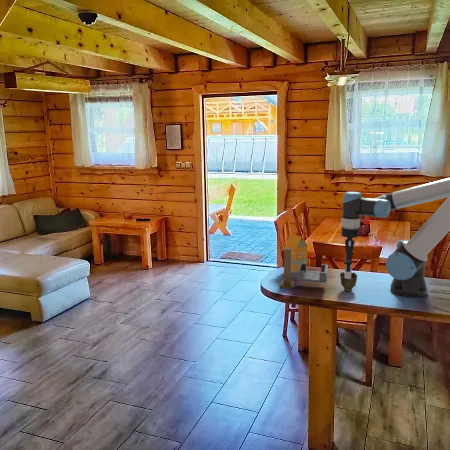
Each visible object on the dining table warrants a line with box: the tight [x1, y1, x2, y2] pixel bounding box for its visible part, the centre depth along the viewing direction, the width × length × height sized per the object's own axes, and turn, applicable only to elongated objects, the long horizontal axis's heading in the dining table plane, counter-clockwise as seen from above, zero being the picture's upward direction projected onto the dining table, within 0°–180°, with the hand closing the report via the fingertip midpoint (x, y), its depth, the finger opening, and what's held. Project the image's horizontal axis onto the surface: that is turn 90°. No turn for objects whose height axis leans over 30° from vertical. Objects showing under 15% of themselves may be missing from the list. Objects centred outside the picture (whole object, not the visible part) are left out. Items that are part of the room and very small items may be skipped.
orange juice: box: [284, 233, 308, 271], centre depth 225 cm, size 8×9×20 cm
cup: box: [339, 271, 358, 293], centre depth 200 cm, size 8×7×8 cm
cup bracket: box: [279, 247, 329, 290], centre depth 205 cm, size 21×13×18 cm, turn 74°
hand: (347, 273), depth 199 cm, fingers open, 13 cm apart
